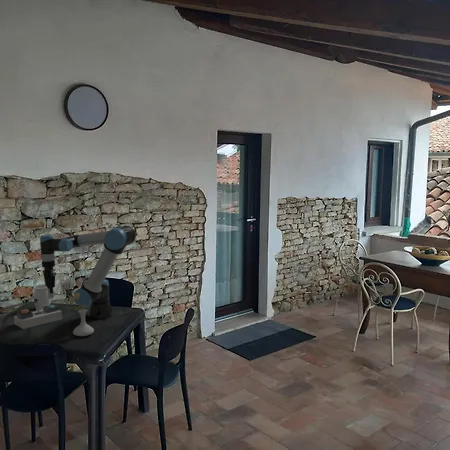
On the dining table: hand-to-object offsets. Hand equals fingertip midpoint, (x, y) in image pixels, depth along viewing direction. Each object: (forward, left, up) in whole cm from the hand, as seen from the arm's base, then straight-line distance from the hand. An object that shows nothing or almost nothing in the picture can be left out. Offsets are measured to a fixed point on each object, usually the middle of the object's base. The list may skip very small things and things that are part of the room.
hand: (50, 298), depth 289 cm
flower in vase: (-39, +1, -13) cm, 41 cm away
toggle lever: (0, +8, -7) cm, 11 cm away
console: (0, +8, -13) cm, 15 cm away
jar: (+23, -6, -13) cm, 28 cm away
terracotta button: (0, +16, -6) cm, 17 cm away
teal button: (0, 0, -7) cm, 7 cm away
